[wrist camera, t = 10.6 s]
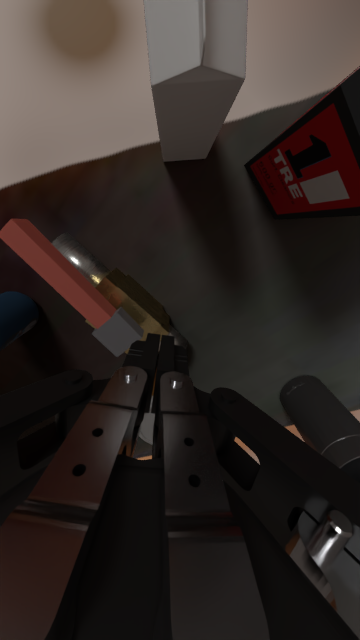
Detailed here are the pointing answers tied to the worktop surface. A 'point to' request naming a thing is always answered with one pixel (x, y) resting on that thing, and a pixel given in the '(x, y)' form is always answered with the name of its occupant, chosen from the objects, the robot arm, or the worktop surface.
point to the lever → (72, 286)
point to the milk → (194, 70)
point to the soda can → (16, 316)
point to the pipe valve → (119, 291)
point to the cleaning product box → (315, 159)
